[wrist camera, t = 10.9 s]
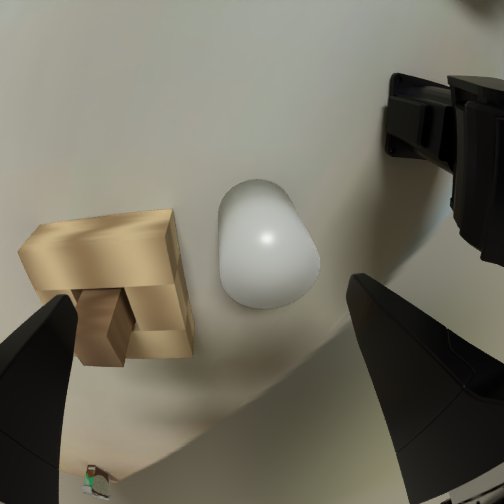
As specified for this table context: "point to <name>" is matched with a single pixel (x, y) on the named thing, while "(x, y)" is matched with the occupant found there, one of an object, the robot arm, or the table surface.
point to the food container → (96, 482)
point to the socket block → (119, 273)
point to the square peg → (103, 327)
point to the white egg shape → (264, 247)
